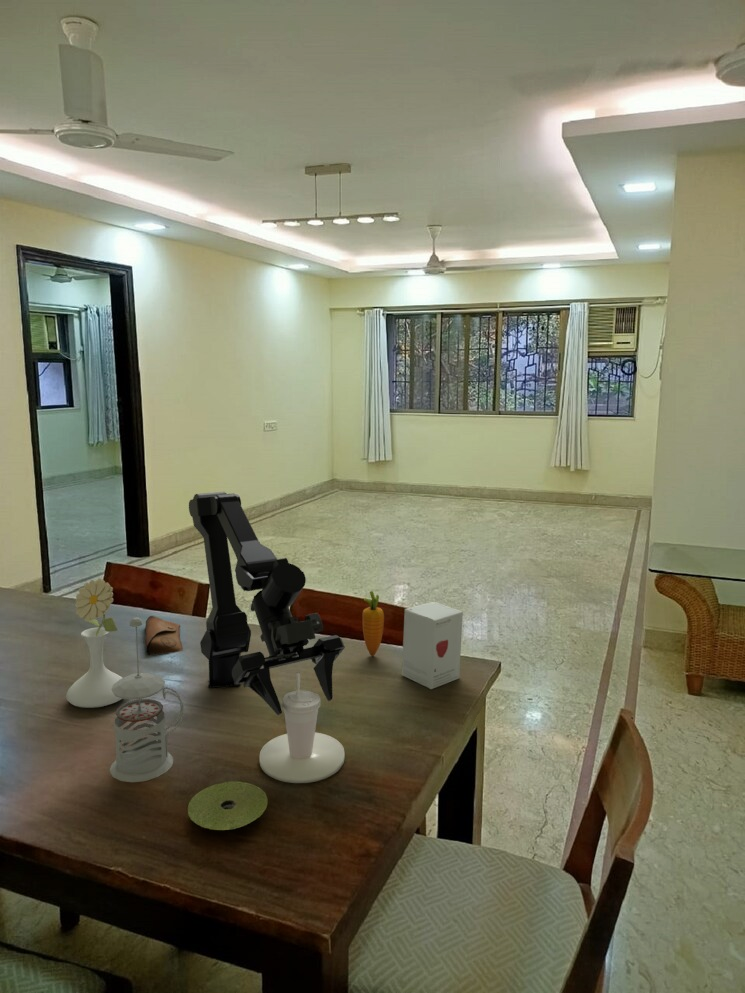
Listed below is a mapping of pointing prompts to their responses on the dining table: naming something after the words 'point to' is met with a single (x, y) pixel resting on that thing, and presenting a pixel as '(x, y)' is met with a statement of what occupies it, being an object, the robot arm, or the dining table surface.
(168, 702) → the dining table surface
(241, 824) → the green disc
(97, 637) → the flower in vase
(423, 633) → the supplement box
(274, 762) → the plate
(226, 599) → the robot arm
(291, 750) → the smoothie
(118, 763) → the french press
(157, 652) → the sunglasses case
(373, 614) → the carrot
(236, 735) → the dining table surface
